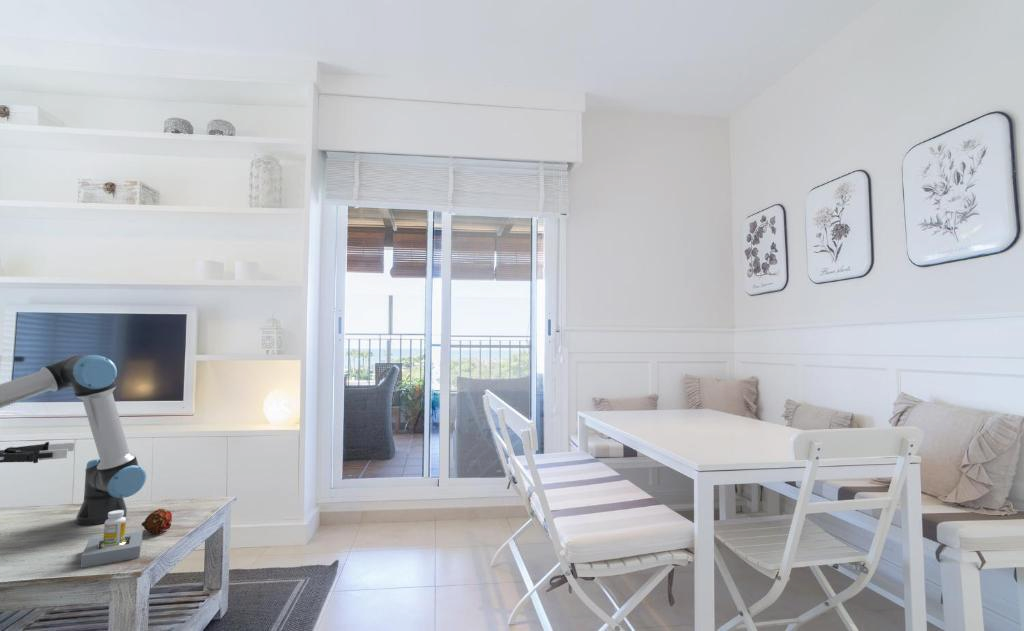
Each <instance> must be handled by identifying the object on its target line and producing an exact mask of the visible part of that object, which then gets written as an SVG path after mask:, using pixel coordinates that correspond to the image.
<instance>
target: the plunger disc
mask: <svg viewBox="0 0 1024 631" xmlns="http://www.w3.org/2000/svg"><path fill="white" fill-rule="evenodd" d="M126 544H127V540H124V542H122V543H120V544H117V545H112V546H105V545H103V544H102V545H101V548H107V547H113V546H119V545H126Z"/></svg>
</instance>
